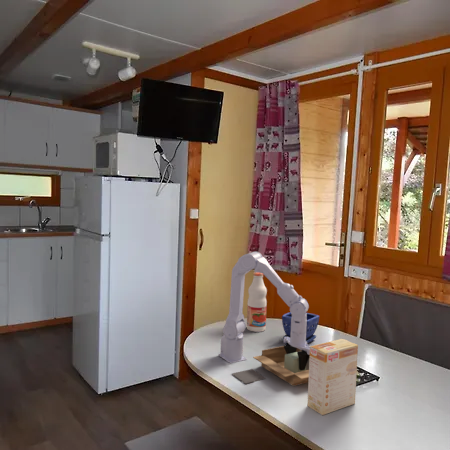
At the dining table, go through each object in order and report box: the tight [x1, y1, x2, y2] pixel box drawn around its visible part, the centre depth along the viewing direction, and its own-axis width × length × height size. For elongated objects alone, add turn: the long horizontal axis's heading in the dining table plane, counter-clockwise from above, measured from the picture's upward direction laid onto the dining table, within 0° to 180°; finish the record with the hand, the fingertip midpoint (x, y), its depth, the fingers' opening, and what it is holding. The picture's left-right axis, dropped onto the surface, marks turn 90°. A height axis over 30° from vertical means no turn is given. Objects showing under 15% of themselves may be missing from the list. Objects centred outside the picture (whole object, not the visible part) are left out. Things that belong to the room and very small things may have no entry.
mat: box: [231, 368, 267, 385], centre depth 153 cm, size 9×9×1 cm
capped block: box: [284, 351, 310, 373], centre depth 159 cm, size 5×8×6 cm, turn 121°
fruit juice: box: [246, 272, 268, 333], centre depth 207 cm, size 9×9×28 cm
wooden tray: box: [253, 345, 309, 387], centre depth 156 cm, size 23×23×6 cm
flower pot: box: [281, 312, 320, 344], centre depth 193 cm, size 13×13×12 cm
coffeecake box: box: [307, 338, 359, 416], centre depth 133 cm, size 15×7×20 cm, turn 123°
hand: (296, 366), depth 159 cm, fingers open, 6 cm apart
